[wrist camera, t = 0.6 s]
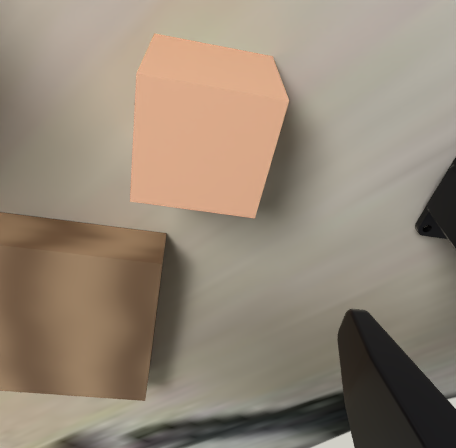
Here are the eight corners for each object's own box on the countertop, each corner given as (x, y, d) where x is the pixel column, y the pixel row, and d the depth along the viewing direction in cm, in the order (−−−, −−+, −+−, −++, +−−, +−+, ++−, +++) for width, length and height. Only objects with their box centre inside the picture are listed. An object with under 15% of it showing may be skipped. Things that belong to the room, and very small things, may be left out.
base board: (166, 233, 23) (162, 264, 21) (149, 369, 32) (145, 400, 30) (-102, 199, 21) (-134, 229, 19) (-44, 354, 30) (-62, 386, 28)
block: (272, 55, 17) (289, 100, 14) (247, 157, 20) (255, 218, 17) (154, 32, 17) (136, 73, 13) (146, 141, 20) (129, 201, 16)
